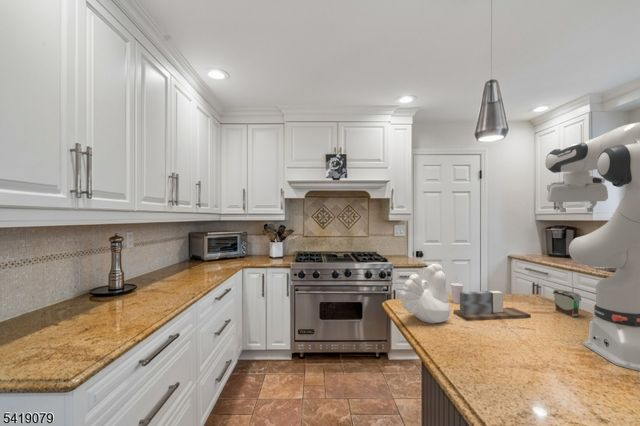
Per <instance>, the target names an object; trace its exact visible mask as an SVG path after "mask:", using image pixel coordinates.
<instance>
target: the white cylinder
mask: <svg viewBox="0 0 640 426" xmlns="http://www.w3.org/2000/svg"><path fill="white" fill-rule="evenodd" d="M488 291H489V292H492V295H493V313H497V312H503V308H504V292H502V291H499V290H488Z"/></svg>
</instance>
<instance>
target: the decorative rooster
mask: <svg viewBox="0 0 640 426" xmlns="http://www.w3.org/2000/svg"><path fill="white" fill-rule="evenodd" d="M425 272H426V273H425V275H424V279H422V278H421V276H420V275H419V274H417V273H412V274H411V275H410V276H408V279H407V280H405V282H404V284H403V286H402V291H401V292H400V300H401V305H402V308H403V309H404V310H406V312H408V313H409V314H413V315H414V316H415V317H416V318H417V319H419V320H420V321H421V322H424V323H427V324H437V323H443V322H445V321H446V320H447V319H449V317H450V314H451V307H450V303H449V298H448V295H447V288H446V286H447V285H446V284H447V283H446V282H447V281H446V280H447V279H446V274H445V273H444V271H443V266H442V264H439V263H438V264H437V263H432V264H430V265H429V266H427V267H426V268H425Z"/></svg>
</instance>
